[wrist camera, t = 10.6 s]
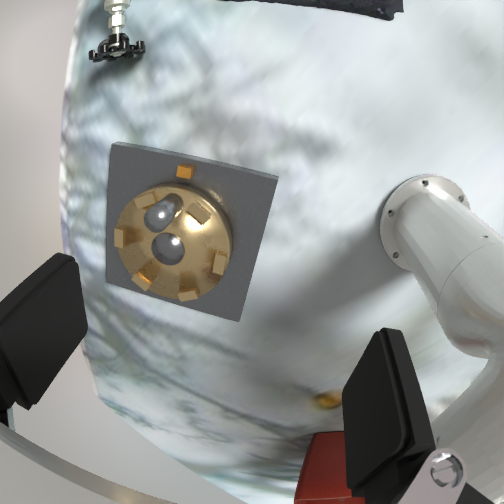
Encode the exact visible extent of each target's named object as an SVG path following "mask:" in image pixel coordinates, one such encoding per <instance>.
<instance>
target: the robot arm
mask: <svg viewBox="0 0 504 504" xmlns="http://www.w3.org/2000/svg"><path fill="white" fill-rule="evenodd" d="M423 180H424V183H422V182H423ZM458 197H459V198H458ZM389 210H391V212H390V213H388V211H389ZM380 236H381V241H382V244H383V247H384V249H385V251H386V253H387V254H388V256H389V257H390V259H391V260H392V261H393V262H394V263H396V264H397V265H398V266H400V267H401V268H403V269H405V270H408V271H412V273H413V274H414V276H415V278H416V280H417V281H418V283H419V285H420V287H421V289H422V291H423V292H424V294H425V296H426V298H427V300H428V302H429V304H430V306H431V307H432V309H433V311H434V313H435V315H436V317H437V319H438V321H439V323H440V325H441V327H442V329H443V331H444V333H445V335H446V336H447V338H448V340H449V341H450V342H451V343H452V345H453V346H454V347H456V348H457V349H458V350H459V351H461V352H463V353H465V354H467V355H470V356H473V357H478V358H484V359H489V360H488V362H487V364H486V366H485V368H484V369H483V370H482V372H481V373H480V374H479V375H478V376H477V377H476V379H475V380H474V381H473V382H472V383H471V385H470V386H469V387H468V388H467V389H466V390H465V391H464V392H463V393H462V394H461V395H460V396H459V397H458V398H457V399H456V400H455V401H454V402H453V403H452V404H451V405H450V406H449V407H448V408H447V409H446V410H445V411H444V412H443V413H441V414H440V415H439V416H438V417H437V418H436V419H435V420H434V421H433V422H431V423H430V421H429V417H428V413H427V410H426V406H425V403H424V399H423V395H422V392H421V389H420V385H419V382H418V379H417V376H416V373H415V369H414V366H413V363H412V360H411V357H410V354H409V351H408V348H407V345H406V342H405V339H404V336H403V333H402V332H401V331H400V330H396V329H390V328H382V329H381V330H380V331H376V332H375V333H374V334H373V336H372V338H371V340H370V342H369V344H368V346H367V348H366V349H365V351H364V353H363V355H362V357H361V359H360V360H359V362H358V364H357V366H356V368H355V369H354V371H353V373H352V375H351V376H350V378H349V380H348V381H347V383H346V385H345V386H344V389H343V392H342V406H343V420H344V436H345V455H346V483H347V488H348V489H351V494H352V497H365V504H504V238H503V237H502V236H501V235H500V234H498V233H497V232H496V231H495V230H494V229H493V228H491V227H490V226H489V225H488V224H487V223H485V222H484V221H483V220H482V219H480V218H479V217H478V216H477V215H476V214H474V213H473V212H472V211H471V210H470V205H469V202H468V200H467V197H466V195H465V194H464V192H463V191H462V189H461V188H460V187H459V186H457V185H456V184H455V183H454V182H452V181H451V180H449V179H447V178H445V177H443V176H440V175H434V174H424V175H420V176H416V177H413V178H411V179H409V180H407V181H405V182H404V183H403V184H401V185H400V186H399V187H398V188H397V189H396V190H395V191H394V192H393V193H392V194H391V196H390V197H389V199H388V200H387V202H386V204H385V206H384V209H383V211H382V215H381V219H380ZM87 329H88V324H87V319H86V313H85V307H84V301H83V295H82V288H81V281H80V274H79V266H78V264H77V263H76V262H75V259H74V257H72V256H69V255H66V254H62V253H56V254H55V255H53V256H52V257H51V258H50V259H49V260H47V261H46V262H45V263H44V264H43V265H42V266H40V267H39V268H38V269H37V270H35V271H34V272H33V273H32V274H31V275H30V276H29V277H28V278H26V279H25V280H24V281H23V282H22V283H21V284H19V285H18V286H17V287H16V288H15V289H14V290H13V291H12V292H11V293H10V294H8V295H7V296H6V297H5V298H4V299H3V300H2V301H1V302H0V504H176V503H172V502H169V501H166V500H163V499H159V498H156V497H153V496H150V495H147V494H144V493H141V492H138V491H135V490H132V489H129V488H127V487H124V486H121V485H119V484H116V483H114V482H111V481H109V480H106V479H104V478H102V477H99V476H97V475H95V474H92V473H90V472H88V471H86V470H84V469H81V468H79V467H77V466H75V465H73V464H71V463H69V462H67V461H65V460H63V459H61V458H59V457H57V456H55V455H54V454H51V453H50V452H48V451H46V450H44V449H43V448H41V447H39V446H37V445H36V444H34V443H32V442H30V441H29V440H27V439H26V438H24V437H22V436H21V435H19V434H17V433H16V432H15V426H14V418H13V409H12V405H13V404H14V402H15V401H16V403H17V404H18V405H20V406H22V407H23V408H25V409H27V410H29V409H30V408H31V406H32V405H33V404H37V403H38V402H39V400H40V399H41V397H42V396H43V394H44V393H45V391H46V390H47V388H48V387H49V385H50V384H51V382H52V381H53V380H54V378H55V377H56V375H57V374H58V372H59V371H60V370H61V368H62V367H63V365H64V364H65V362H66V361H67V360H68V358H69V357H70V355H71V354H72V353H73V351H74V350H75V349H76V347H77V346H78V345H79V343H80V342H81V340H82V339H83V338H84V336H85V335H86V333H87Z"/></svg>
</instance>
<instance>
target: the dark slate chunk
mask: <svg viewBox="0 0 504 504" xmlns="http://www.w3.org/2000/svg"><path fill="white" fill-rule="evenodd" d="M224 1H228V0H224ZM231 1H236V2H243V1H252V0H231ZM254 1H259V2H268V3H281V4H291V5H296V6H298V5H301V6H307V7H315V6H316V7H318V8H327V9H331V10H340V11H345V12H352V13H358V14H362V15H368V16H371V17H374V18H380V19H384V20H388V21H391V20H393V19H394V13H396V12H404V10H403V0H254Z"/></svg>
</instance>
